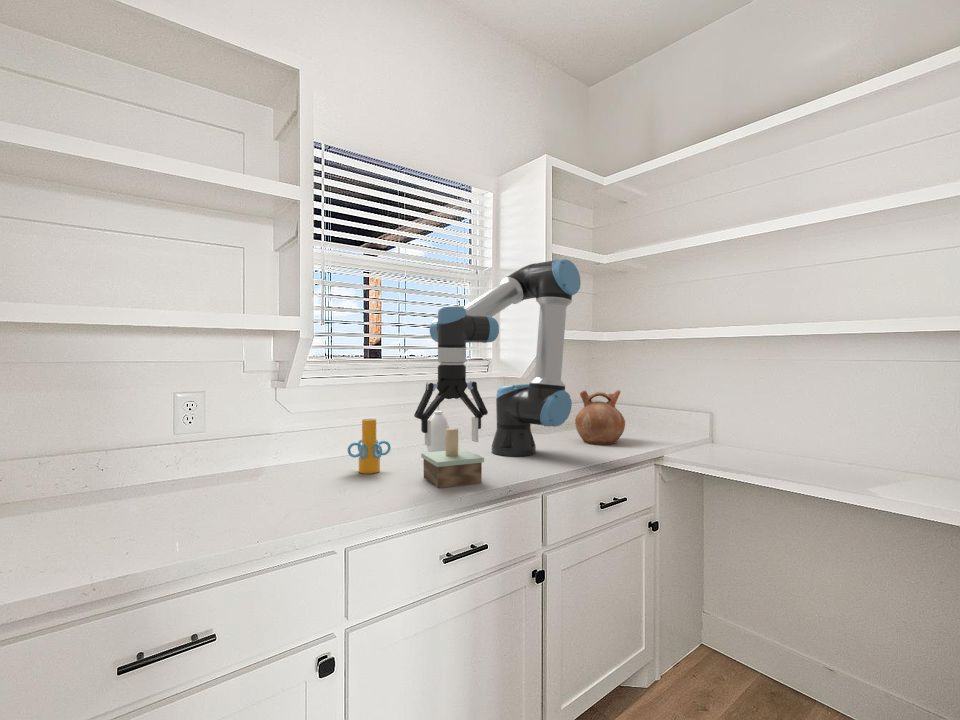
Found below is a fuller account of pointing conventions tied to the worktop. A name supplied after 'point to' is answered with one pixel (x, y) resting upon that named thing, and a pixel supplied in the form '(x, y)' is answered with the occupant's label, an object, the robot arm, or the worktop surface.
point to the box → (453, 474)
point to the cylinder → (369, 448)
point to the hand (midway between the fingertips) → (451, 443)
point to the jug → (600, 419)
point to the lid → (452, 453)
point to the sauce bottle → (438, 432)
